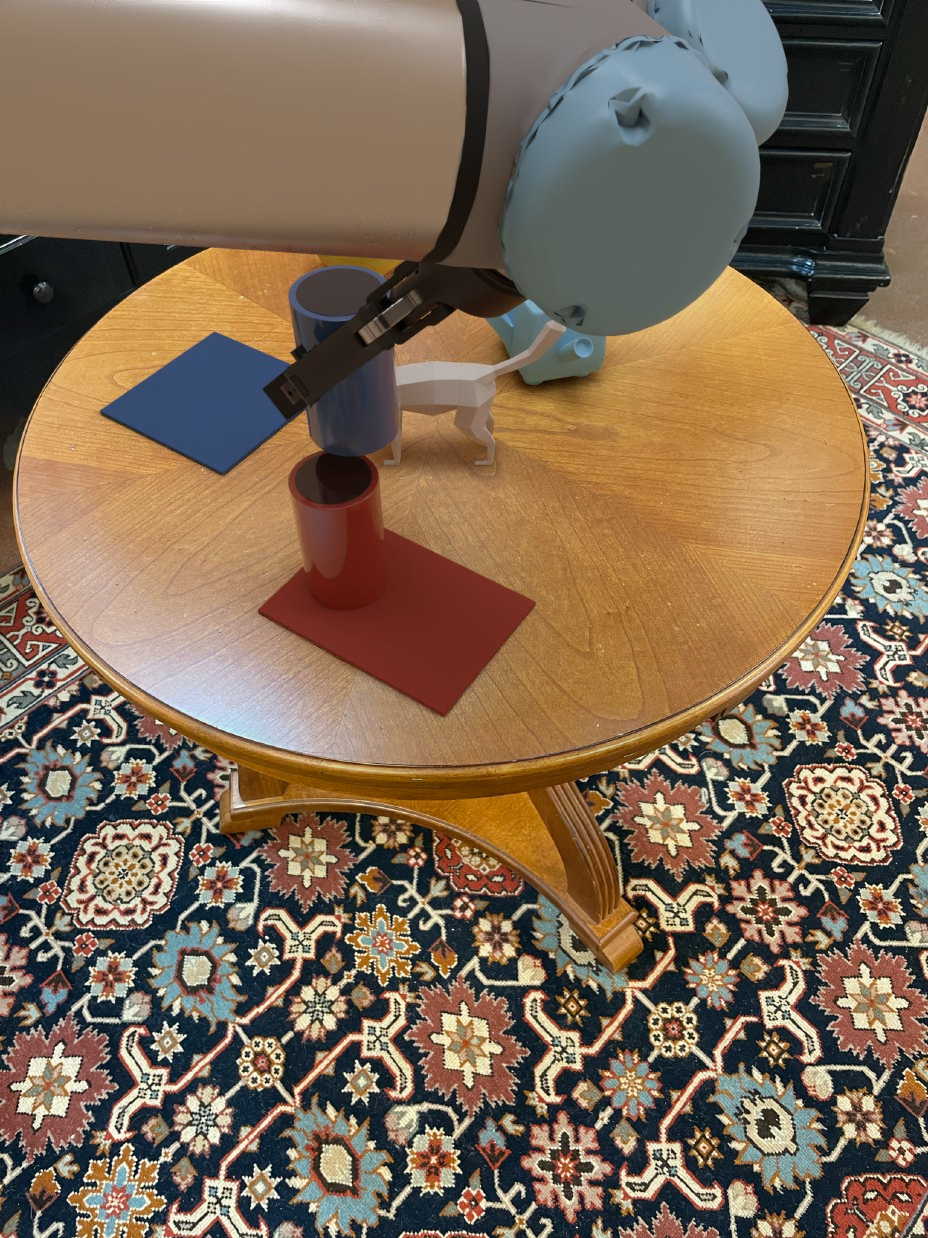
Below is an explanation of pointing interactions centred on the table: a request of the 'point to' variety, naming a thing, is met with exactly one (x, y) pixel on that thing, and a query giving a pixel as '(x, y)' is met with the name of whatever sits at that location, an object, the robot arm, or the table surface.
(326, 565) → the red tumbler
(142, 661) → the table surface
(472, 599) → the red mat
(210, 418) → the blue mat
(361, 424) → the blue tumbler
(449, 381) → the cat figurine
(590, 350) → the teapot
